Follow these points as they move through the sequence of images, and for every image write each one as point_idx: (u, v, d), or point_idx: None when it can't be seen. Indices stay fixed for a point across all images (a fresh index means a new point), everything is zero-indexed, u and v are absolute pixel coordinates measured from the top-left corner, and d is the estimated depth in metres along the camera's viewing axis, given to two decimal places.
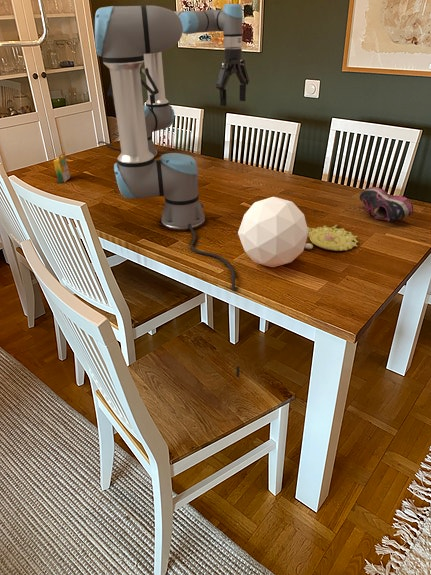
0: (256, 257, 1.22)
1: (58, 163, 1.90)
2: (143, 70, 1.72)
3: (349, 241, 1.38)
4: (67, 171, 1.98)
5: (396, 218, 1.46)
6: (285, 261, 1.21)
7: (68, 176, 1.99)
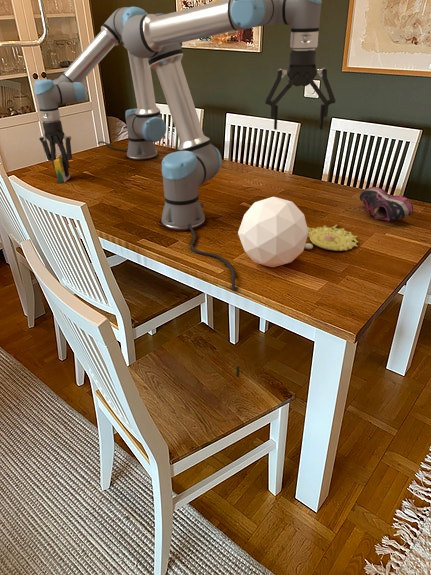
0: (256, 257, 1.22)
1: (58, 163, 1.90)
2: None
3: (349, 241, 1.38)
4: None
5: (396, 218, 1.46)
6: (285, 261, 1.21)
7: (68, 176, 1.99)
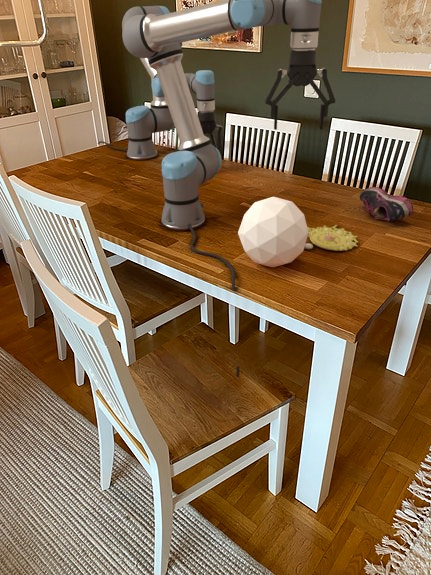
0: (256, 257, 1.22)
1: None
2: None
3: (349, 241, 1.38)
4: None
5: (396, 218, 1.46)
6: (285, 261, 1.21)
7: None
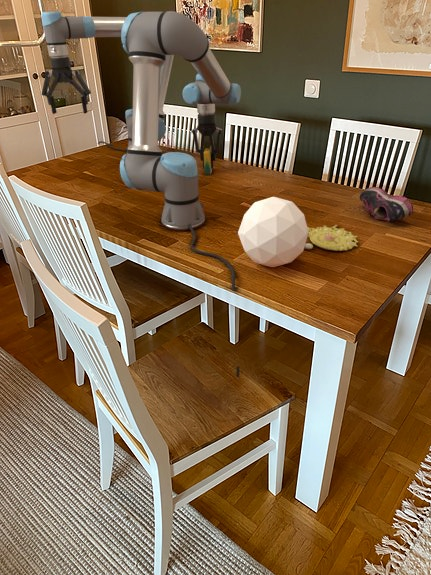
0: (256, 257, 1.22)
1: (208, 155, 1.94)
2: None
3: (349, 241, 1.38)
4: None
5: (396, 218, 1.46)
6: (285, 261, 1.21)
7: None
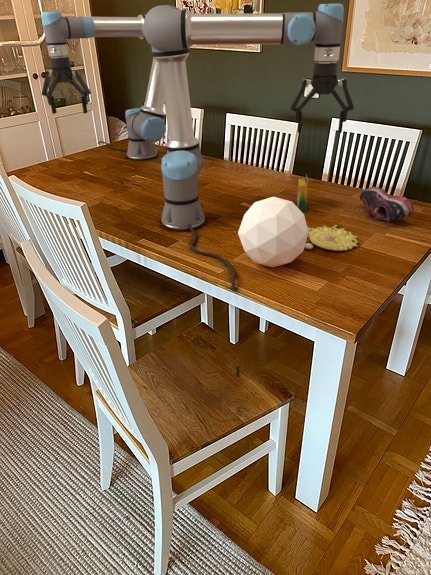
0: (256, 257, 1.22)
1: (306, 188, 1.57)
2: None
3: (349, 241, 1.38)
4: None
5: (396, 218, 1.46)
6: (285, 261, 1.21)
7: None
